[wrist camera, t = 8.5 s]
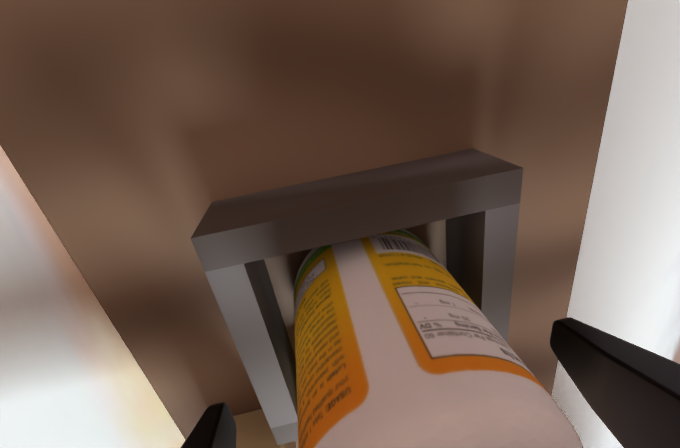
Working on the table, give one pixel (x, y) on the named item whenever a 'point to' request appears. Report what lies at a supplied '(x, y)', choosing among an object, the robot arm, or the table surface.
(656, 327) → the table surface
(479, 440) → the supplement bottle
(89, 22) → the bottle stand
